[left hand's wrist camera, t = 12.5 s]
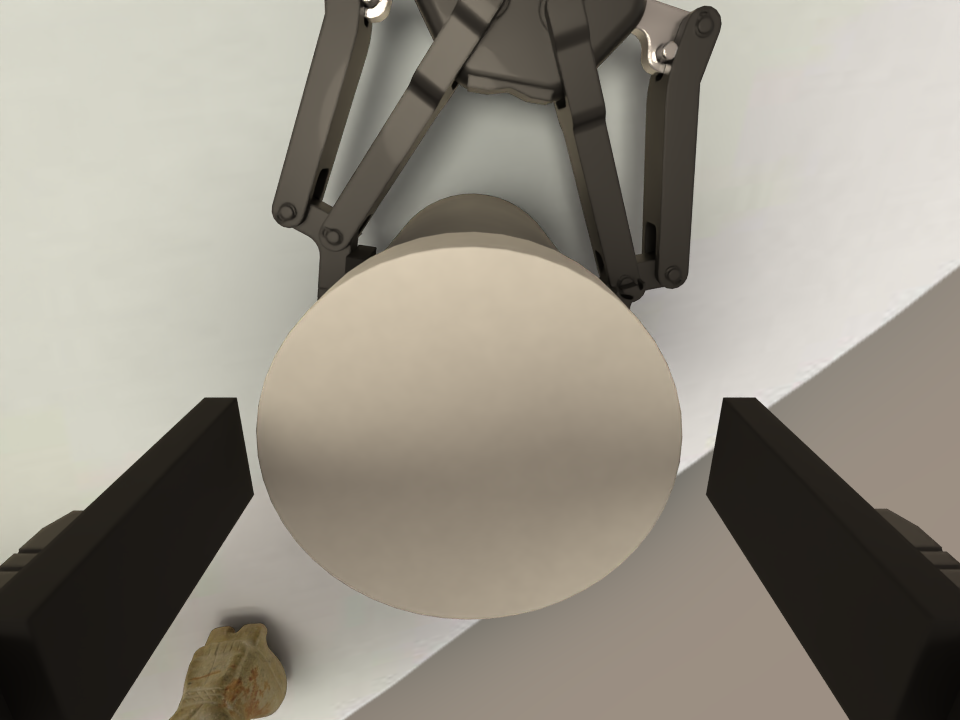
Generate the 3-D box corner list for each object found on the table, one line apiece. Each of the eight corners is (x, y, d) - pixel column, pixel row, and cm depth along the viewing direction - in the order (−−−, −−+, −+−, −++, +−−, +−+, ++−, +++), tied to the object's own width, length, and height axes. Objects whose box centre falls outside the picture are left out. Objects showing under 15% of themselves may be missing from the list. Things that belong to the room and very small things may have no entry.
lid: (734, 361, 15) (773, 394, 13) (524, 613, 18) (530, 670, 16) (394, 146, 13) (380, 148, 11) (225, 473, 16) (191, 518, 14)
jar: (591, 253, 29) (736, 391, 13) (499, 388, 32) (524, 640, 16) (441, 157, 27) (393, 180, 11) (357, 309, 30) (223, 503, 14)
